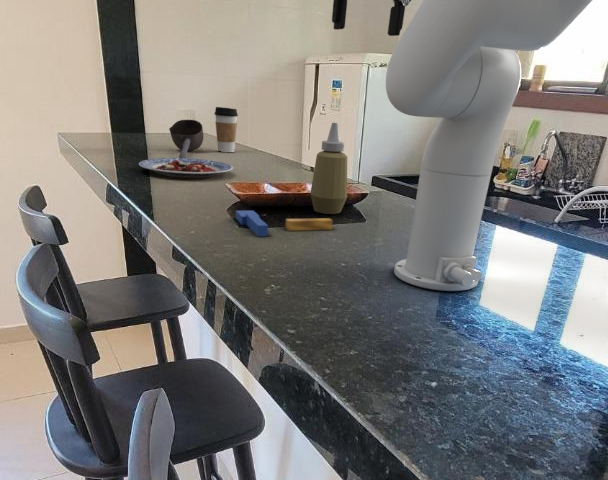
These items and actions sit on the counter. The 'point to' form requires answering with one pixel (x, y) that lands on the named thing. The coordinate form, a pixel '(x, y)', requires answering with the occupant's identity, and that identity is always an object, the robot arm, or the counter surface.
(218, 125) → the coffee cup
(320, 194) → the squeeze bottle
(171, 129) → the ladle
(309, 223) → the fry
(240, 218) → the blue l-shaped block
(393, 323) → the counter surface
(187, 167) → the ceramic plate
